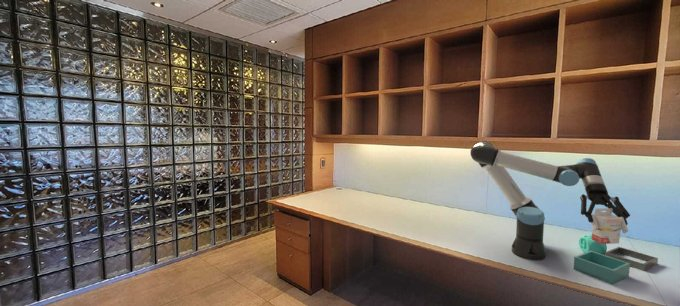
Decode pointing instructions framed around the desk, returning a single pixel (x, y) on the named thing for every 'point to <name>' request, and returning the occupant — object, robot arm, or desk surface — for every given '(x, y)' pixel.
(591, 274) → the teal bin
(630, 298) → the desk surface
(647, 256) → the socket collar
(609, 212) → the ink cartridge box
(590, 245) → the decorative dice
